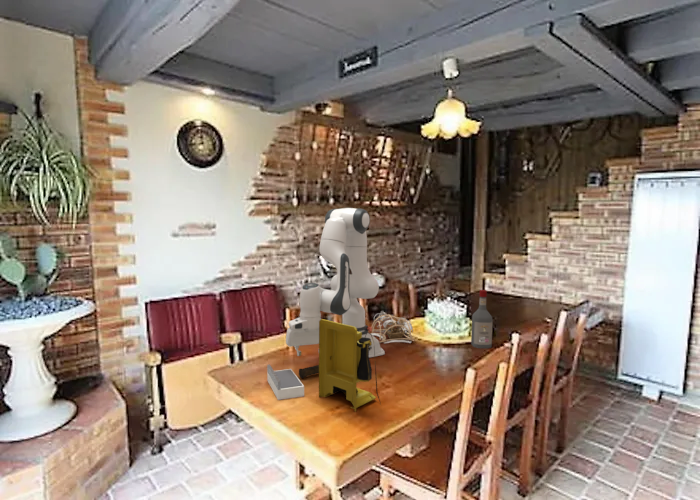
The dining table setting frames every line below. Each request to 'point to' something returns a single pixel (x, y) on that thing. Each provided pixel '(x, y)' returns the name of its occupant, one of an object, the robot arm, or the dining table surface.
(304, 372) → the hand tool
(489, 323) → the liquor
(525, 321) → the dining table surface
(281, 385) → the grey open box
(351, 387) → the vintage telephone
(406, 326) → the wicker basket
